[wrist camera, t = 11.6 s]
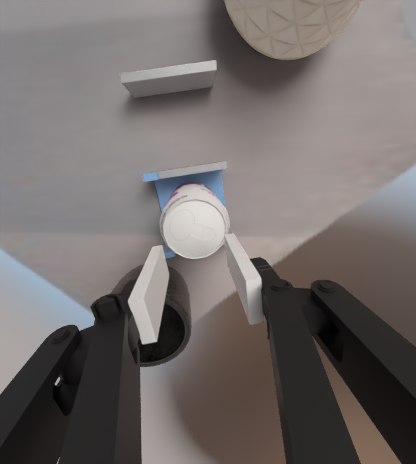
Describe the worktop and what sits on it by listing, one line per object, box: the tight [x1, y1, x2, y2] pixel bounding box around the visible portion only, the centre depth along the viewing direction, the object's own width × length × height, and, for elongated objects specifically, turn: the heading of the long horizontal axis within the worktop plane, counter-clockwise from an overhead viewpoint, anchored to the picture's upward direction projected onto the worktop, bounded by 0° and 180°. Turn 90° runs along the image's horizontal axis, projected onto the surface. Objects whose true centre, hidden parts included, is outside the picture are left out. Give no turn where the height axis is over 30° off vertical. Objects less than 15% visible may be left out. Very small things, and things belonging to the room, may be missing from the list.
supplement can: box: [159, 181, 230, 259], centre depth 29 cm, size 8×8×15 cm
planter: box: [94, 265, 191, 367], centre depth 35 cm, size 14×14×13 cm
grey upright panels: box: [120, 60, 232, 258], centre depth 31 cm, size 25×12×7 cm, turn 8°
